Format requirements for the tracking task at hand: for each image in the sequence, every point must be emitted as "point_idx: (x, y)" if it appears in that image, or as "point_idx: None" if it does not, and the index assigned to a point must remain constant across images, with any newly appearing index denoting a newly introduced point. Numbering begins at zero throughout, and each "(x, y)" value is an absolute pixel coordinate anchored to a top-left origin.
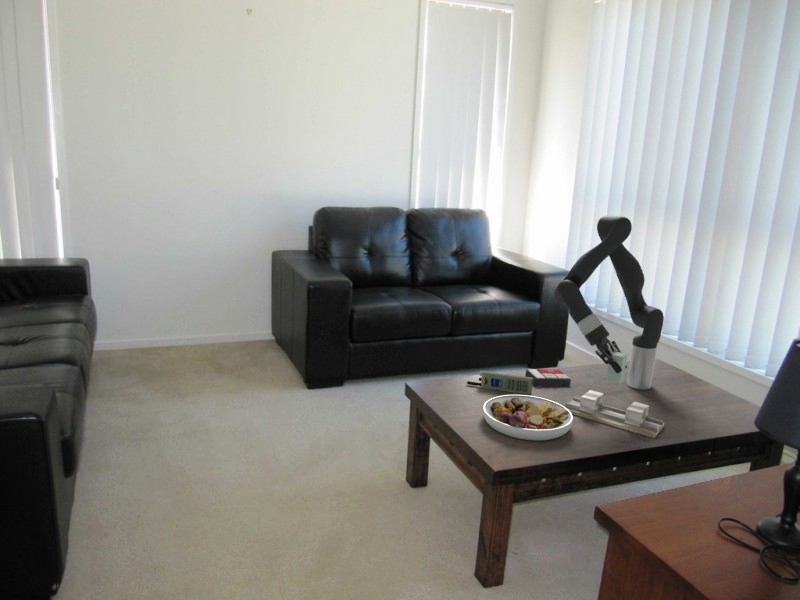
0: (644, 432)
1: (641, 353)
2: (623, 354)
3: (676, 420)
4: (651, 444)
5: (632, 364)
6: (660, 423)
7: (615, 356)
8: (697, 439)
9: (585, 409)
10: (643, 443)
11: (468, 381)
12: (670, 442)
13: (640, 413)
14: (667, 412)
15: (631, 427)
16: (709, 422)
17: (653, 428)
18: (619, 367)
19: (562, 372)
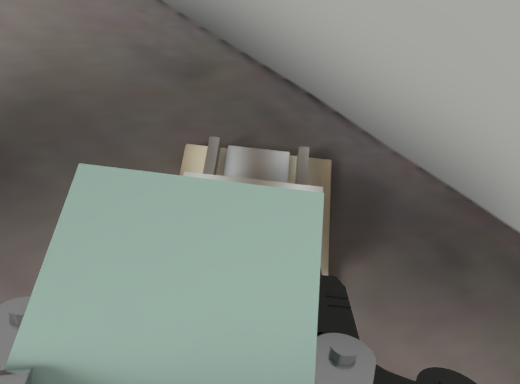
0: (329, 197)
1: None
2: (142, 216)
3: (91, 121)
4: (394, 167)
5: None
6: (218, 150)
7: (315, 342)
8: (239, 55)
9: None
10: (408, 192)
11: None
12: (327, 118)
13: (322, 191)
14: (11, 158)
15: (323, 248)
16: (53, 34)
17: (308, 161)
18: (322, 278)
19: None
